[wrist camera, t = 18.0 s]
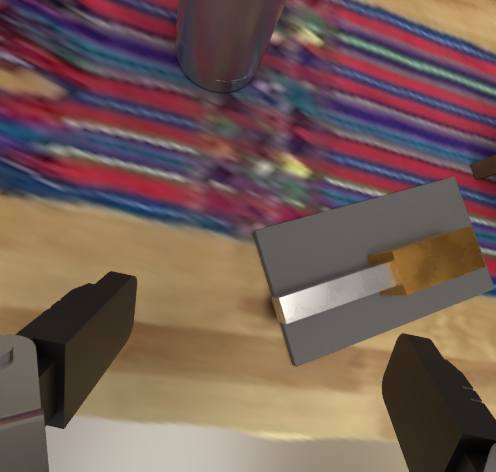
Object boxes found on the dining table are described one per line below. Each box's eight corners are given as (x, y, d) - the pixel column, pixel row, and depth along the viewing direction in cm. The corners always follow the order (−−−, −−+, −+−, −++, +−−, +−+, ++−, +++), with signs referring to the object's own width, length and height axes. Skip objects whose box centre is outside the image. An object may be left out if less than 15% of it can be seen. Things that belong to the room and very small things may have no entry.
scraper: (278, 331, 35) (294, 336, 31) (265, 287, 35) (279, 287, 31) (452, 269, 41) (485, 266, 37) (439, 232, 41) (471, 225, 37)
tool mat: (252, 232, 37) (255, 230, 36) (448, 179, 44) (454, 176, 43) (292, 364, 36) (296, 366, 35) (487, 288, 43) (494, 288, 42)
